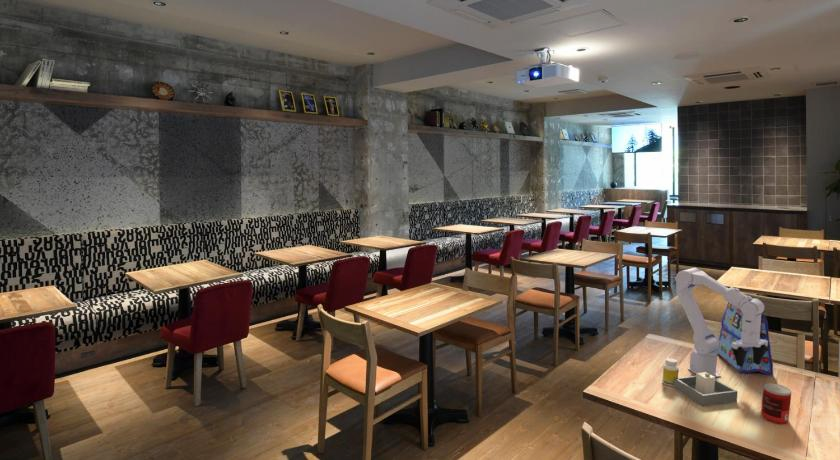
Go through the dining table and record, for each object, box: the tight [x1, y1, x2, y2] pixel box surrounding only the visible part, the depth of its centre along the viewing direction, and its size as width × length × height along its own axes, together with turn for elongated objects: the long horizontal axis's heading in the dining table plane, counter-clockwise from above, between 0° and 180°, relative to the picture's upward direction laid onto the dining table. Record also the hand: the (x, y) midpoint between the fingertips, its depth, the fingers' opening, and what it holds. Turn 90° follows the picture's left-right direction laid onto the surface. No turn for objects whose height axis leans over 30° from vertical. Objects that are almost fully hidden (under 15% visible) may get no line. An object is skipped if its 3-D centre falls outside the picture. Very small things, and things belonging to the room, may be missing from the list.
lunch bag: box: [717, 302, 774, 376], centre depth 208 cm, size 22×14×29 cm, turn 172°
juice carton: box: [695, 372, 716, 395], centre depth 182 cm, size 5×4×8 cm
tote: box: [673, 375, 738, 407], centre depth 183 cm, size 15×15×4 cm
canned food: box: [760, 382, 792, 425], centre depth 165 cm, size 8×8×11 cm
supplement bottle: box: [661, 357, 680, 387], centre depth 192 cm, size 5×5×10 cm
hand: (748, 364), depth 187 cm, fingers open, 7 cm apart
